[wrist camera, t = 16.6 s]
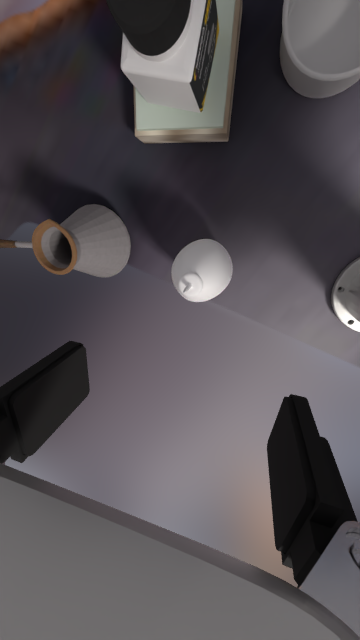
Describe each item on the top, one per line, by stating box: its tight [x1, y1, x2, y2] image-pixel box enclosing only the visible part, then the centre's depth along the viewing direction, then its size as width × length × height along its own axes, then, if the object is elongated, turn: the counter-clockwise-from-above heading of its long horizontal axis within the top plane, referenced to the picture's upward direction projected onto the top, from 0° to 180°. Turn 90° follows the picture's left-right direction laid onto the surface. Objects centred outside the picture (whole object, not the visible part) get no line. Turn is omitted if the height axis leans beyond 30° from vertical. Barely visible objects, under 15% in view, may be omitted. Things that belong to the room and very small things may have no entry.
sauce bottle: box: [171, 239, 233, 302], centre depth 29 cm, size 8×8×18 cm
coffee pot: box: [0, 204, 131, 277], centre depth 34 cm, size 21×12×15 cm, turn 87°
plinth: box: [134, 0, 242, 143], centre depth 28 cm, size 12×12×4 cm
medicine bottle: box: [106, 0, 219, 113], centre depth 21 cm, size 7×7×12 cm
